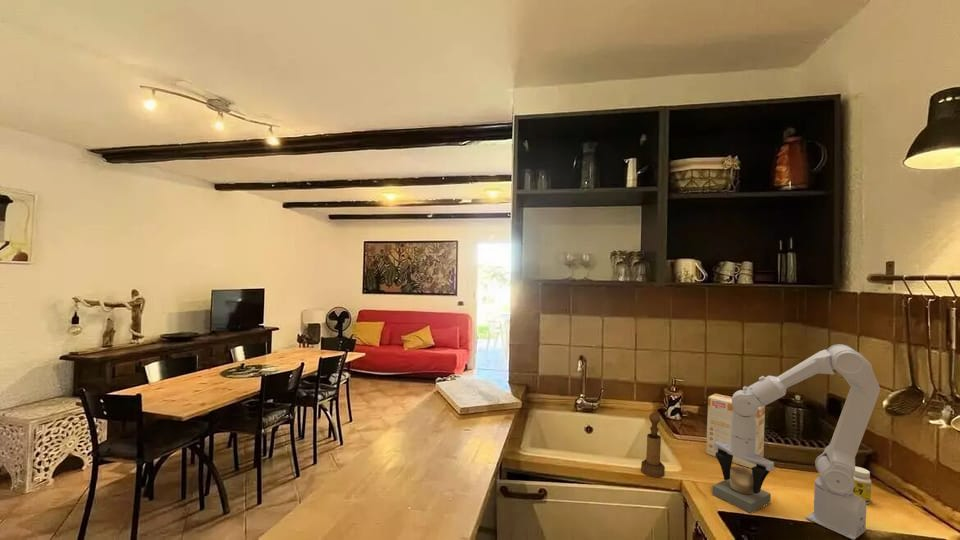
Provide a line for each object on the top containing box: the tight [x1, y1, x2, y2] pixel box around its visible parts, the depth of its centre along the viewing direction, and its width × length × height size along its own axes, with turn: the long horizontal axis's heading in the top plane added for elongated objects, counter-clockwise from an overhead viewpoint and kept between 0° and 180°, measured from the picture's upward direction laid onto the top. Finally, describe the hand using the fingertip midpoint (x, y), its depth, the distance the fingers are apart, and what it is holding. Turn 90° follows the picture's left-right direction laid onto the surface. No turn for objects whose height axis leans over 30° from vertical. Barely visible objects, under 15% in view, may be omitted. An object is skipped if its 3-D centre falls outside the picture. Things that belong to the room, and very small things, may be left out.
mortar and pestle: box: [640, 412, 666, 478], centre depth 127 cm, size 7×6×18 cm
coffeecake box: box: [705, 393, 766, 470], centre depth 137 cm, size 15×7×20 cm, turn 42°
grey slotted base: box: [711, 479, 772, 514], centre depth 114 cm, size 10×10×2 cm
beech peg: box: [730, 466, 753, 495], centre depth 114 cm, size 5×5×8 cm
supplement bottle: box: [853, 465, 872, 505], centre depth 115 cm, size 5×5×8 cm
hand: (741, 485), depth 114 cm, fingers open, 7 cm apart
